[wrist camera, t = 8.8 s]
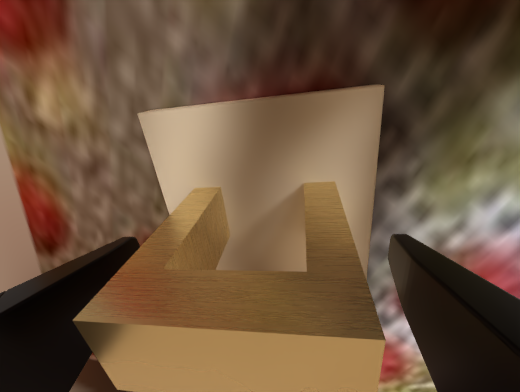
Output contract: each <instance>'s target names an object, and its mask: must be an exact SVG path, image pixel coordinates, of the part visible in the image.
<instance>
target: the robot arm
mask: <svg viewBox="0 0 520 392" xmlns="http://www.w3.org/2000/svg"><path fill="white" fill-rule="evenodd" d="M139 248H140V246H139V243H138V241H137V239H136V238H135V237H123V238H120V239H118V240H116V241H114V242H112V243H109V244H107V245H105V246H103V247H101V248H98V249H96V250H94V251H92V252H90V253H87V254H85V255H83V256H81V257H79V258H77V259H74V260H72V261H70V262H68V263H66V264H63V265H61V266H59V267H57V268H55V269H52V270H50V271H48V272H46V273H44V274H41V275H39V276H37V277H35V278H33V279H31V280H28V281H26V282H24V283H22V284H19V285H17V286H15V287H13V288H11V289H9V290H7V291H4V292H2V293H0V392H69V391H70V389H71V388H72V386H73V384H74V383H75V381H76V379H77V378H78V376H79V374H80V372H81V371H82V369H83V367H84V366H85V364H86V362H87V361H88V359H89V357H90V356H91V354H92V350H91V348H90V347H89V345H88V344H87V342H86V341H85V339H84V338H83V336H82V335H81V333H80V332H79V330H78V328H77V327H76V325H75V324H74V322H73V321H72V320H73V319H74V318H75V317H76V316H77V315H78V314H79V313H80V312H81V311H82V310H83V308H84V307H85V306H86V305H87V304H88V303H89V302H90V301H91V300H92V299H93V298H94V297H95V295H96V294H97V293H98V292H99V291H100V290H101V289H102V288H103V287H104V286H105V285H106V284H107V282H108V281H109V280H110V279H111V278H112V277H113V276H114V275H115V274H116V273H117V272H118V271H119V269H120V268H121V267H122V266H123V265H124V264H125V263H126V262H127V261H128V260H129V259H130V258H131V256H132V255H133V254H134V253H135V252H136V251H137V250H138V249H139ZM388 260H389V265H390V268H391V272H392V275H393V279H394V282H395V285H396V289H397V292H398V296H399V299H400V302H401V306H402V308H403V311H404V314H405V316H406V319H407V321H408V323H409V326H410V328H411V330H412V333H413V335H414V337H415V340H416V342H417V345H418V347H419V349H420V352H421V354H422V356H423V359H424V361H425V364H426V366H427V368H428V371H429V373H430V375H431V378H432V380H433V382H434V385H435V387H436V390H437V392H520V299H518V298H516V297H515V296H513V295H511V294H509V293H508V292H506V291H504V290H503V289H501V288H499V287H497V286H496V285H494V284H492V283H490V282H489V281H487V280H485V279H483V278H482V277H480V276H478V275H477V274H475V273H473V272H471V271H470V270H468V269H466V268H464V267H463V266H461V265H459V264H457V263H456V262H454V261H452V260H450V259H449V258H447V257H445V256H444V255H442V254H440V253H438V252H437V251H435V250H433V249H431V248H430V247H428V246H426V245H424V244H423V243H421V242H419V241H418V240H416V239H414V238H412V237H411V236H409V235H407V234H393V235H392V236H391V239H390V246H389V253H388Z"/></svg>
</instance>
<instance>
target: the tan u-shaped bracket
mask: <svg viewBox="0 0 520 392" xmlns="http://www.w3.org/2000/svg"><path fill="white" fill-rule="evenodd" d="M304 202H305V233H306V265H307V272H298V271H239V270H216V268H217V265H218V263H219V261H220V258H221V256H222V254H223V251H224V249H225V247H226V245H227V242H228V240H229V238H230V230H229V225H228V220H227V215H226V210H225V205H224V200H223V195H222V190H221V187H206V188H194V189H193V190H192V191H191V193H190V194H189V195H188V196H187V197H186V198H185V199H184V200H183V201H182V202H181V203H180V204H179V206H178V207H177V208H176V209H175V210H174V211H173V212H172V213H171V214H170V215H169V216H168V217H167V219H166V220H165V221H164V222H163V223H162V224H161V225H160V226H159V227H158V228H157V229H156V230H155V232H154V233H153V234H152V235H151V236H150V237H149V238H148V239H147V240H146V241H145V242H144V243H143V245H142V246H141V247H140V248H139V249H138V250H137V251H136V252H135V253H134V254H133V255H132V256H131V258H130V259H129V260H128V261H127V262H126V263H125V264H124V265H123V266H122V267H121V268H120V269H119V271H118V272H117V273H116V274H115V275H114V276H113V277H112V278H111V279H110V280H109V281H108V282H107V284H106V285H105V286H104V287H103V288H102V289H101V290H100V291H99V292H98V293H97V294H96V295H95V297H94V298H93V299H92V300H91V301H90V302H89V303H88V304H87V305H86V306H85V307H84V308H83V310H82V311H81V312H80V313H79V314H78V315H77V316H76V317H75V318H74V319H73V320H72V321H73V322H74V324H75V325H76V327H77V328H78V330H79V332H80V333H81V335H82V336H83V338H84V339H85V341H86V342H87V344H88V345H89V347H90V348H91V350H92V352H93V353H94V355H95V356H96V358H97V359H98V361H99V362H100V364H101V365H102V367H103V368H104V370H105V372H106V373H107V375H108V376H109V378H110V379H111V381H112V382H113V384H114V385H115V387H116V388H117V390H126V391H134V392H377V390H378V384H379V378H380V372H381V366H382V359H383V353H384V347H385V341H386V340H385V337H384V334H383V331H382V327H381V324H380V321H379V318H378V315H377V312H376V309H375V306H374V302H373V299H372V296H371V293H370V290H369V287H368V284H367V280H366V277H365V274H364V271H363V268H362V265H361V262H360V259H359V255H358V252H357V249H356V246H355V243H354V240H353V237H352V233H351V230H350V227H349V224H348V221H347V218H346V215H345V212H344V208H343V205H342V202H341V199H340V196H339V193H338V190H337V186H336V183H335V181H332V182H311V183H304Z"/></svg>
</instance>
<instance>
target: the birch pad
mask: <svg viewBox="0 0 520 392" xmlns="http://www.w3.org/2000/svg"><path fill="white" fill-rule="evenodd" d="M384 87H385V86H384V85H377V84H375V85H366V86H357V87H349V88H340V89H331V90H322V91H314V92H305V93H296V94H287V95H279V96H270V97H261V98H252V99H244V100H235V101H226V102H217V103H209V104H200V105H191V106H182V107H174V108H165V109H156V110H149V111H145V112H141V113H137V114H138V117H139V120H140V123H141V126H142V130H143V133H144V136H145V139H146V142H147V145H148V149H149V152H150V155H151V158H152V161H153V164H154V167H155V171H156V174H157V177H158V180H159V183H160V186H161V190H162V193H163V196H164V199H165V202H166V205H167V209H168V212H169V215H170V214H171V213H172V212H173V211H174V210H175V209H176V208H177V207H178V206H179V204H180V203H181V202H182V201H183V200H184V199H185V198H186V197H187V196H188V195H189V194H190V193H191V191H192V190H193V189H194V188H206V187H221V190H222V195H223V200H224V205H225V210H226V215H227V220H228V225H229V230H230V238H229V240H228V242H227V245H226V247H225V249H224V251H223V254H222V256H221V258H220V261H219V263H218V265H217V268H216V270H239V271H298V272H307V265H306V233H305V202H304V183H311V182H332V181H335V183H336V186H337V190H338V193H339V196H340V199H341V202H342V205H343V208H344V212H345V215H346V218H347V221H348V224H349V227H350V230H351V233H352V237H353V240H354V243H355V246H356V249H357V252H358V255H359V259H360V262H361V265H362V268H363V271H364V274H365V277H366V279H367V268H368V257H369V247H370V236H371V225H372V215H373V204H374V193H375V183H376V172H377V161H378V151H379V140H380V129H381V119H382V108H383V97H384Z"/></svg>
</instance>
